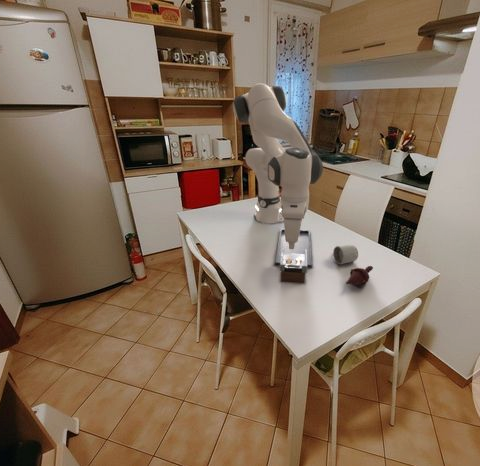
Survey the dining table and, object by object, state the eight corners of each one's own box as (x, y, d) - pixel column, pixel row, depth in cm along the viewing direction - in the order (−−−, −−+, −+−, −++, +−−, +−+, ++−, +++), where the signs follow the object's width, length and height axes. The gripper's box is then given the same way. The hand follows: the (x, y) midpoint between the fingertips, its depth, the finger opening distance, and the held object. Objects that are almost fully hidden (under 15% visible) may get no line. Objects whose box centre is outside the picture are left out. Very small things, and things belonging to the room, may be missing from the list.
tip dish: (306, 277, 95) (307, 270, 93) (279, 275, 95) (279, 268, 94) (306, 255, 108) (306, 248, 106) (281, 254, 109) (282, 246, 107)
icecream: (358, 284, 90) (381, 271, 98) (342, 269, 94) (366, 258, 103) (350, 297, 94) (373, 283, 102) (335, 282, 98) (358, 271, 107)
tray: (311, 268, 109) (311, 264, 108) (275, 265, 110) (275, 262, 109) (309, 233, 136) (309, 230, 135) (280, 231, 137) (280, 228, 137)
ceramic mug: (358, 264, 111) (360, 248, 108) (341, 267, 109) (343, 251, 105) (343, 252, 120) (346, 237, 117) (328, 255, 118) (330, 240, 114)
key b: (301, 268, 99) (301, 266, 99) (295, 267, 99) (295, 266, 99) (301, 258, 105) (301, 257, 104) (295, 258, 105) (295, 257, 105)
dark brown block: (304, 283, 100) (305, 273, 97) (280, 281, 100) (281, 271, 98) (304, 269, 108) (305, 259, 105) (282, 268, 108) (282, 258, 106)
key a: (291, 268, 98) (291, 267, 98) (285, 268, 99) (285, 267, 98) (291, 259, 104) (292, 258, 104) (285, 259, 104) (285, 258, 104)
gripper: (287, 191, 92) (285, 227, 98) (281, 214, 74) (280, 256, 80) (305, 192, 91) (302, 228, 98) (304, 216, 73) (300, 257, 80)
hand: (292, 241), depth 89 cm, fingers open, 8 cm apart
